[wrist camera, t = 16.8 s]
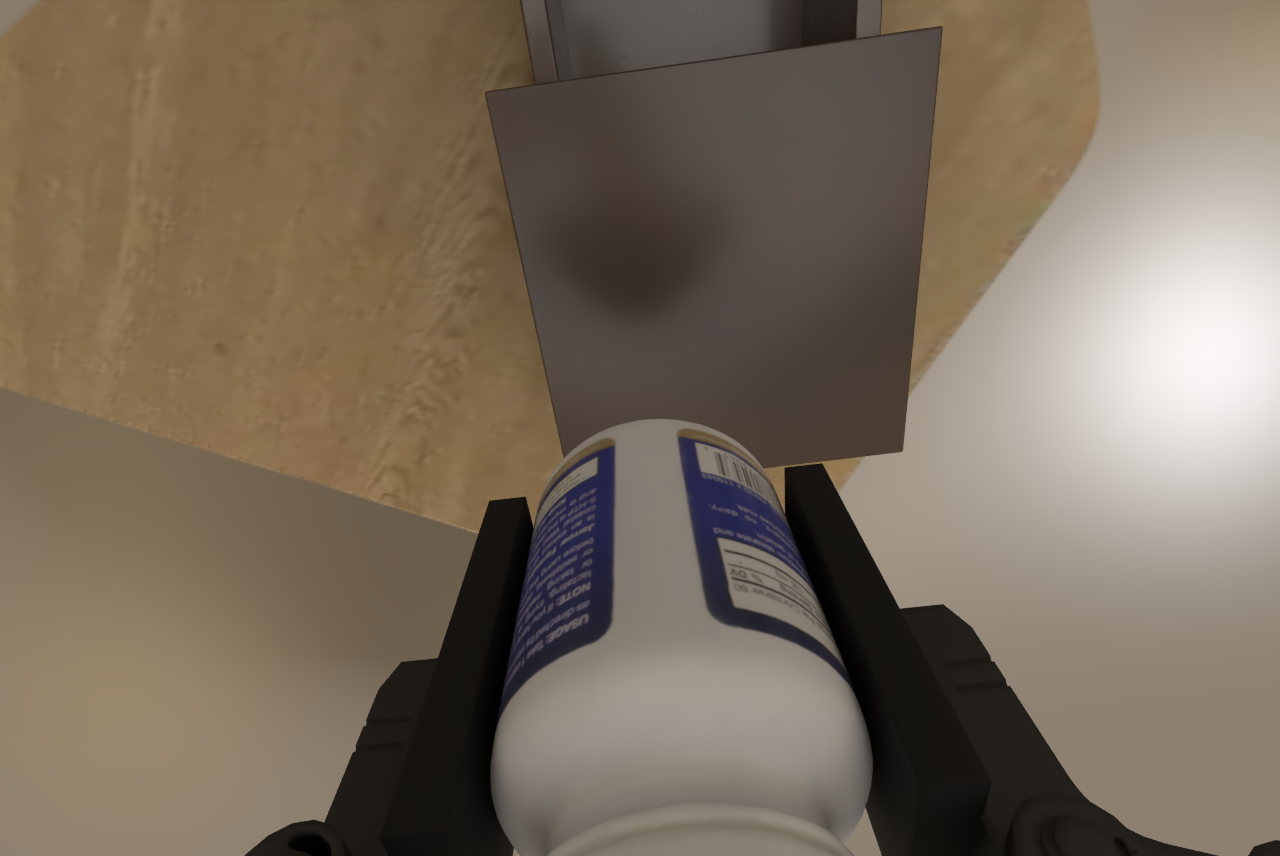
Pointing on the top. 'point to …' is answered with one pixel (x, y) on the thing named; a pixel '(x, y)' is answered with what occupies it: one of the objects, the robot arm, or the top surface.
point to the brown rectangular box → (729, 241)
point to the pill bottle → (673, 665)
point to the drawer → (679, 31)
